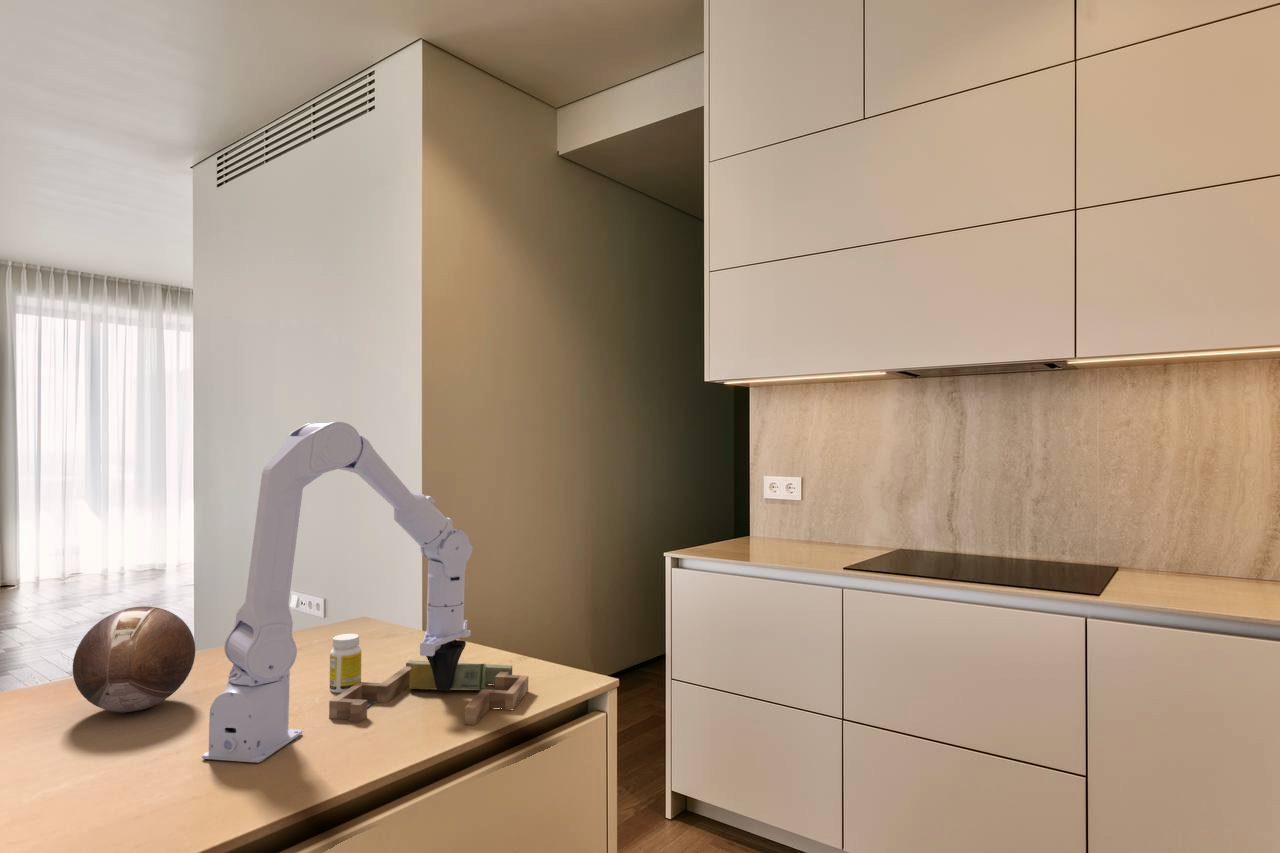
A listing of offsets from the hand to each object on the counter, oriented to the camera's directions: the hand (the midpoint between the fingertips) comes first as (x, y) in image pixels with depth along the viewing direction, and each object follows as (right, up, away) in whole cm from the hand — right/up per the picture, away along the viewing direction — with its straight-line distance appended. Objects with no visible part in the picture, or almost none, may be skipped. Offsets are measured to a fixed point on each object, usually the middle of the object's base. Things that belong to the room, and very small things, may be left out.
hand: (444, 688), depth 115 cm
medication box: (0, -1, +2) cm, 2 cm away
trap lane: (0, -1, -3) cm, 3 cm away
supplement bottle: (-17, -1, +3) cm, 17 cm away
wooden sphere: (-44, -1, -7) cm, 45 cm away
